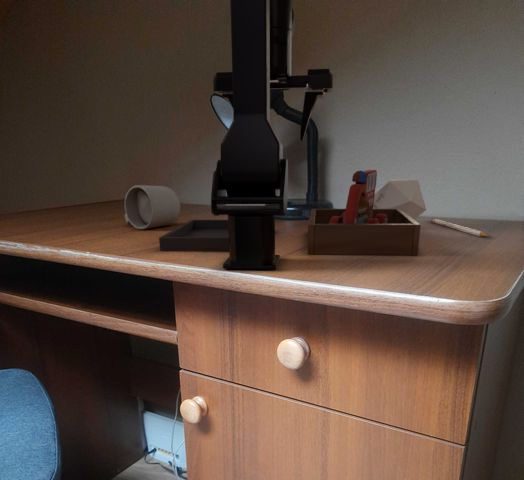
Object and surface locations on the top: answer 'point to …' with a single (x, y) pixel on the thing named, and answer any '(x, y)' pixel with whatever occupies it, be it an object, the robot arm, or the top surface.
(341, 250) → the toy crate
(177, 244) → the desk tray
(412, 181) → the die
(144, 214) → the ceramic mug
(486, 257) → the top surface
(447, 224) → the pencil
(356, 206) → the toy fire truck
